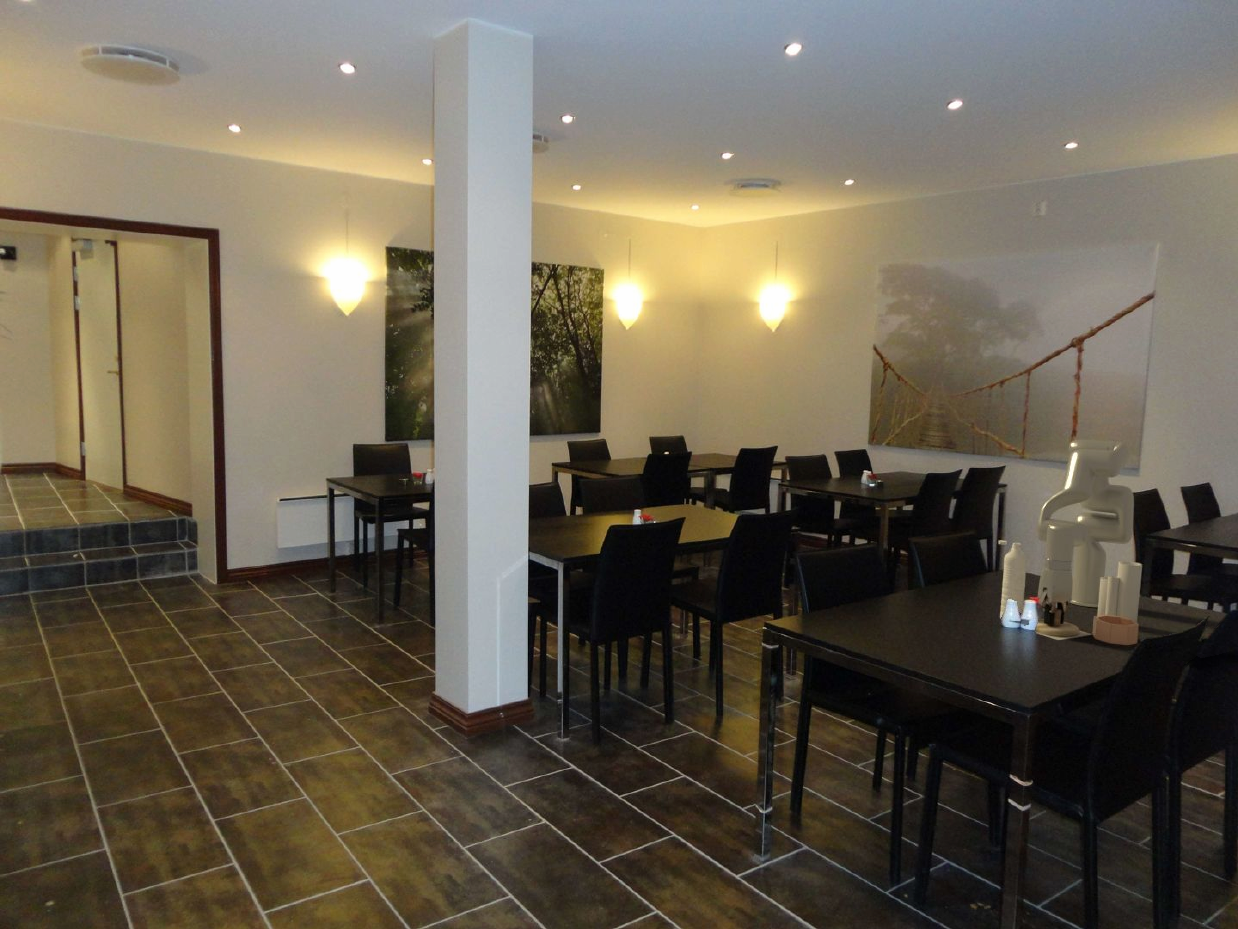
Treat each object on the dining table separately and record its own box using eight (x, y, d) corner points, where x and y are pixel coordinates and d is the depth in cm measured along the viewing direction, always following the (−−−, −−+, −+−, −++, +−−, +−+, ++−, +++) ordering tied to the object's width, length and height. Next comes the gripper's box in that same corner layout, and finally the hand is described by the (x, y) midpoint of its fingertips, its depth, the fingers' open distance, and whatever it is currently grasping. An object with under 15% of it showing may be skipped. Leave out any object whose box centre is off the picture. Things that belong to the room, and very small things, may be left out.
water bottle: (1024, 619, 279) (1030, 543, 276) (1018, 624, 274) (1024, 545, 271) (996, 614, 284) (1002, 539, 282) (989, 618, 279) (995, 541, 277)
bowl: (1085, 636, 262) (1086, 617, 261) (1108, 632, 267) (1110, 613, 266) (1119, 647, 252) (1121, 627, 251) (1143, 643, 257) (1145, 623, 256)
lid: (1017, 626, 269) (1019, 606, 269) (1048, 621, 276) (1049, 601, 275) (1058, 639, 257) (1060, 618, 256) (1089, 634, 263) (1090, 613, 263)
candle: (1138, 625, 276) (1144, 563, 274) (1134, 630, 270) (1140, 567, 268) (1098, 618, 283) (1103, 557, 281) (1093, 622, 277) (1098, 561, 275)
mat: (1015, 627, 270) (1015, 626, 270) (1048, 622, 276) (1048, 621, 276) (1058, 641, 256) (1058, 640, 256) (1091, 635, 263) (1091, 634, 263)
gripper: (1065, 560, 271) (1060, 617, 273) (1028, 564, 264) (1024, 623, 266) (1087, 565, 265) (1082, 624, 267) (1050, 569, 257) (1045, 630, 259)
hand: (1053, 623), depth 266 cm, fingers closed on lid, 3 cm apart
